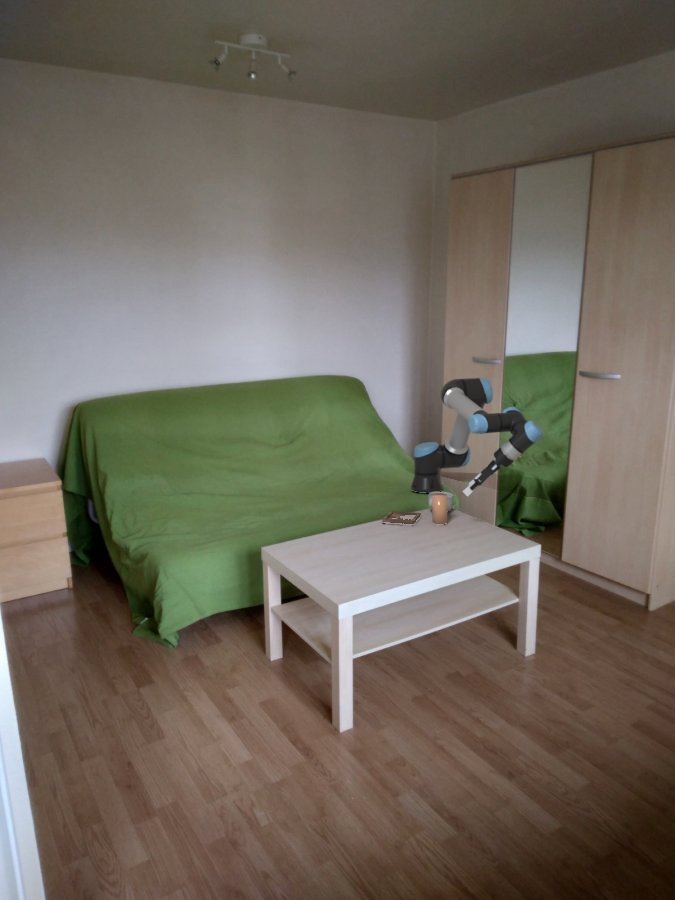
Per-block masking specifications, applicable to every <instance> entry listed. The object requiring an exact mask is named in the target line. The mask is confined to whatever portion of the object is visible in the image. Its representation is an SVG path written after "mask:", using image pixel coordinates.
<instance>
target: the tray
mask: <svg viewBox="0 0 675 900" xmlns="http://www.w3.org/2000/svg"><path fill="white" fill-rule="evenodd" d="M405 515H416V516H415V517H414V518H413V519H412V520H411V519H409V520H408V519H405V520H403V518H402V519H401V518H400V516H405ZM420 515H421V516H422V514H421V512H412V511H411V512H410V511H399V510H398V511H396V510H390V511H389V512H388V513H387V514H386V515H384V517H383V518H382V519H381V520H382V521H381V523H382V522H390V523H402V524H403V523H404V524H414V523H415V522H416V520H417V519H418V518H419V517H420ZM397 517H398V518H397ZM392 518H397V519H392Z"/></svg>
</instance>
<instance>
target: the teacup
mask: <svg viewBox="0 0 675 900" xmlns="http://www.w3.org/2000/svg"><path fill="white" fill-rule="evenodd" d="M436 493H443V494H447V511H449V512H450V511H452V508H453V505H454V494H453V493H451V492H448V491H447V492H446V491H441V492H430V493H429V494H427V496H428V501H427V502H428V508H429V509H430V510H431V511H432V495H433V494H436Z"/></svg>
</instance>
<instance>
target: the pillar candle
mask: <svg viewBox="0 0 675 900" xmlns="http://www.w3.org/2000/svg"><path fill="white" fill-rule="evenodd" d="M431 511H432V515H431V517H432V519H431V520H432V522H433V523H435V524H445V523H447V524H448V512H447V494H443V493H436V494H433V495H432V510H431ZM432 522H431V523H432Z"/></svg>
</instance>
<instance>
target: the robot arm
mask: <svg viewBox="0 0 675 900" xmlns="http://www.w3.org/2000/svg"><path fill="white" fill-rule="evenodd" d="M492 387H493V386H492V384H491V382H490V380H489V379H488V378H486V377H473V378H454V379H451V380H449V381H447V382H446V383H445V384H444V385H443V386H442V388H441V391H440V400H441V402H442V403H443V405H445V406H446V407H447V408H448V409H450V410H454V411H455V412H456V413H457V414H456V418H455V419H454V424H453V426H452V429H451V432H450V435H449V437H447V438H446V439H445V441H444V443H443V444H439V443H438V442H436V441H431V442H429V441H428V442H422V443H419V444H417V445H416V446H414V453H413V457H414V459H413V460H414V463H413V464H414V468H413V469H414V476H413V479H412V482H411V486H410V490H411V489H412V490H414V491H417V492H426V493H430V492H437V491H440V490H441V489H442V490H443V485H442V482H441V479H440V476H439V469H456V468H457V469H459V468H462V467H466V466H467V465H468V464H469V463H470V459H471V449H470V446H469V444H468V441H469V439H470V435H471V433H472V434H476V435H483V434H493V433H494V434H495V433H506V432H507V433H510V434H511V435H512V436H511V437H510V438H508V440H506V441H505V442H504V443H503V444H502V445H501V446H500V447H499V448H498V449H497V450H495V452H493V457H494V458H495V459H493V460H491V461H490V462H489V464H488V465H487V466H486V467H485V468H483V470H482V471H480V473H478V474H477V475H476V476H475V477H474V478H473V479H472V480H471V481H470V482H468V486H467V487H466V488H465V489H464V490H462V493H463V494H465V496H467V497H469V496H470V495H471V494H472V493H473V492H474V491H476V490H477V489H478V488H479V487H480V486H483V485H482V484H483V483H485V482H486V481H487V480H488V478H490V477H491V476H493V475H494V474H495V473H496V472H498V471H499V470H500V468H501V466H502V467H504V468H508V467H510V466H511V465H512V464H513V463H514V461H516V460H517V459H518V458H522V455H523V454H524V453H525V452H526V451H527V450H529V448H531V447H532V446H533V445H534V444H536V443H537V441H539V439H541V438H542V437H543V434H544V431H543V430H542V428H540V426H539V425H538V424H537V423H536V422H534V421H533V420H527V419H526V418H525V416H524V415H523V413H522V411H520V410H519V409H518V407H515V406H509V407H507V408H505V409H503V410H502V412H493V413H488V412H487V411H486V410H485V409H484V408H485V407H484V406H485V404H486V405H487V404H491V402H492V401H493V395H494V394H493V393H494V392H493V388H492Z"/></svg>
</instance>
